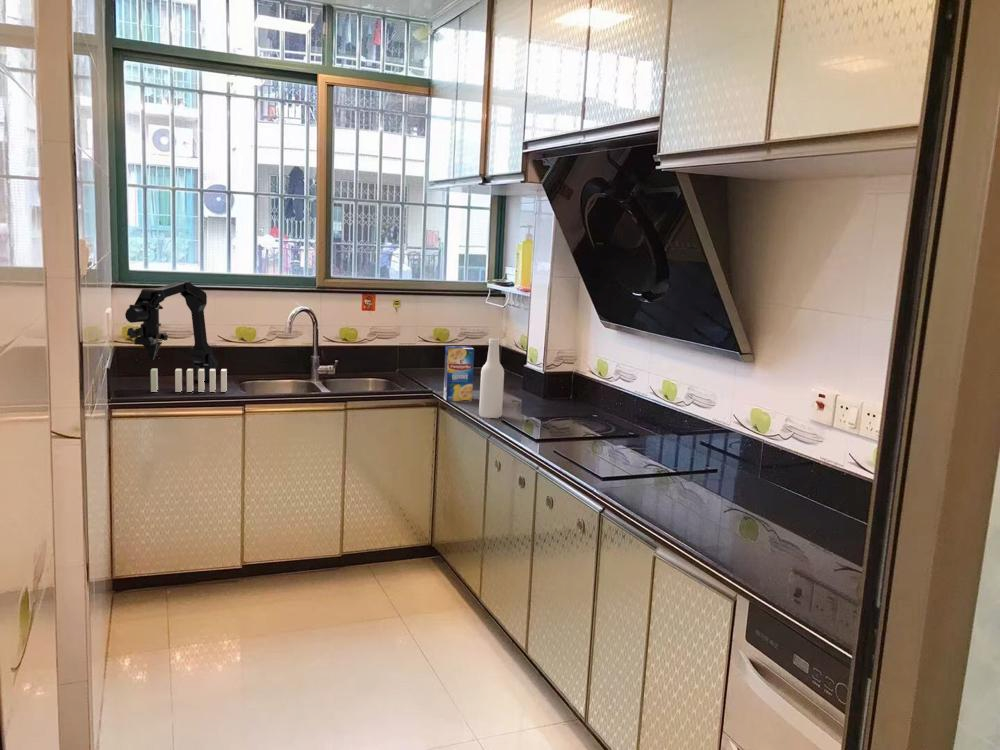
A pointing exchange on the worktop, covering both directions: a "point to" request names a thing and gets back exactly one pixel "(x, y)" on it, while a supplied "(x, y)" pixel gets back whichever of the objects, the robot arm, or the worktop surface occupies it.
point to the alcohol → (491, 383)
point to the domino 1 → (154, 379)
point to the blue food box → (458, 373)
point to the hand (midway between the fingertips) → (151, 360)
